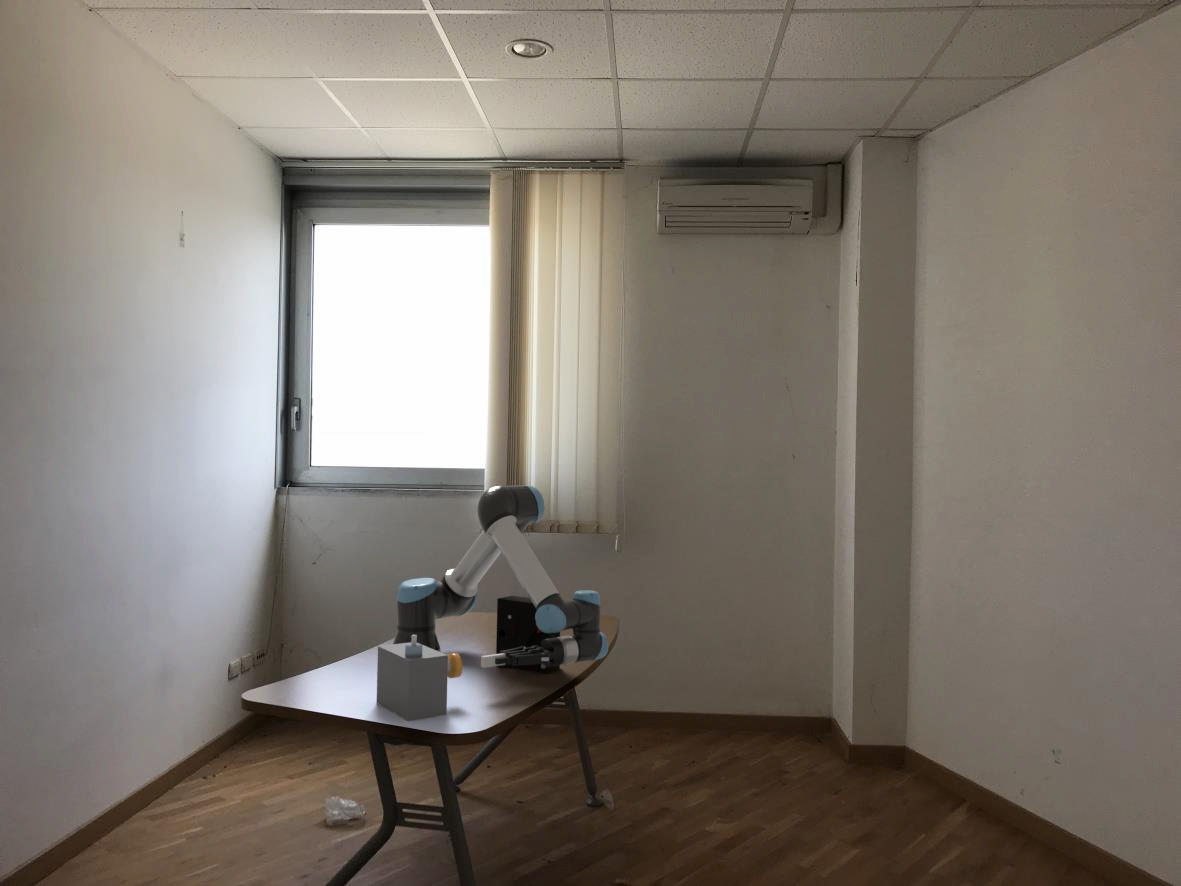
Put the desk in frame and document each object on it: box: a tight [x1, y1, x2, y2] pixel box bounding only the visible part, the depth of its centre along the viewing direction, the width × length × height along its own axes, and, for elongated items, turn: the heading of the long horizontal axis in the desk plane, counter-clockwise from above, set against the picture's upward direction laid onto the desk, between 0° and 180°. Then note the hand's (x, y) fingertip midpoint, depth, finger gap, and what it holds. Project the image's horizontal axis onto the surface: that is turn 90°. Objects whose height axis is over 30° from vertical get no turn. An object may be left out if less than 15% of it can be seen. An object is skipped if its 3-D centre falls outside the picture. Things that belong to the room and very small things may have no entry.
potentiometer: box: [405, 635, 422, 657], centre depth 207 cm, size 4×4×5 cm
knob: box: [446, 652, 463, 679], centre depth 217 cm, size 6×8×6 cm
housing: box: [376, 642, 448, 722], centre depth 212 cm, size 18×10×14 cm, turn 37°
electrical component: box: [495, 595, 561, 675], centre depth 256 cm, size 18×10×20 cm, turn 59°
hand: (482, 661), depth 223 cm, fingers closed
